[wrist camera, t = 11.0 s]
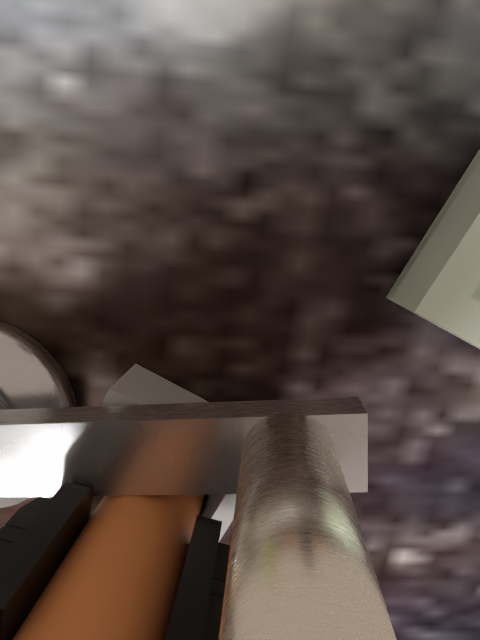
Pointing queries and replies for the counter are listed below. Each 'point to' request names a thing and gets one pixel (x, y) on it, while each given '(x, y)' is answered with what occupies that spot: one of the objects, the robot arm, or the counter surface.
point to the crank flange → (30, 378)
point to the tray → (448, 265)
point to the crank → (231, 478)
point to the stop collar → (154, 389)
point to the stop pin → (118, 572)
